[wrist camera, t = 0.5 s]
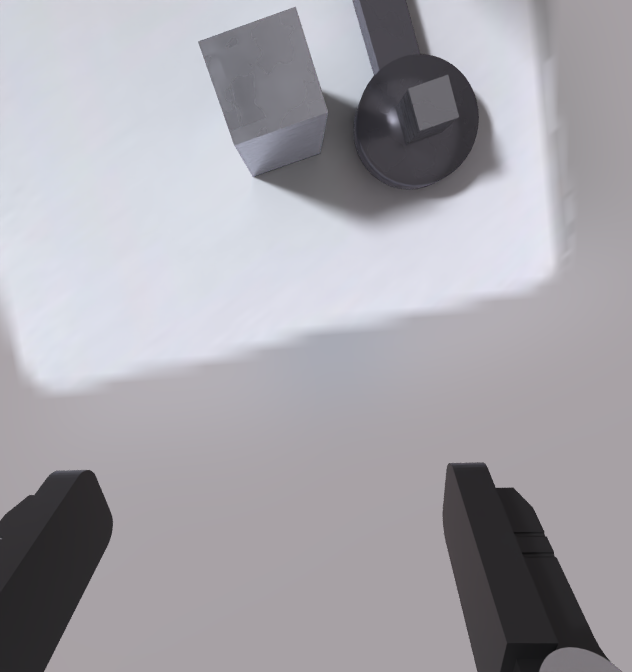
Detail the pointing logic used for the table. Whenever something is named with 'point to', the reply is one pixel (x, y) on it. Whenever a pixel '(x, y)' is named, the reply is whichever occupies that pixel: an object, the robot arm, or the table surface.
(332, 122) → the table surface
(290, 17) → the brushed metal block
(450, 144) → the ratchet
